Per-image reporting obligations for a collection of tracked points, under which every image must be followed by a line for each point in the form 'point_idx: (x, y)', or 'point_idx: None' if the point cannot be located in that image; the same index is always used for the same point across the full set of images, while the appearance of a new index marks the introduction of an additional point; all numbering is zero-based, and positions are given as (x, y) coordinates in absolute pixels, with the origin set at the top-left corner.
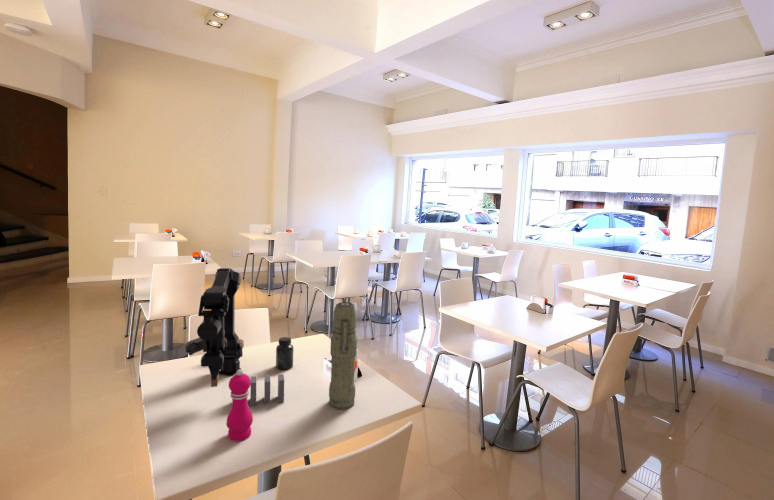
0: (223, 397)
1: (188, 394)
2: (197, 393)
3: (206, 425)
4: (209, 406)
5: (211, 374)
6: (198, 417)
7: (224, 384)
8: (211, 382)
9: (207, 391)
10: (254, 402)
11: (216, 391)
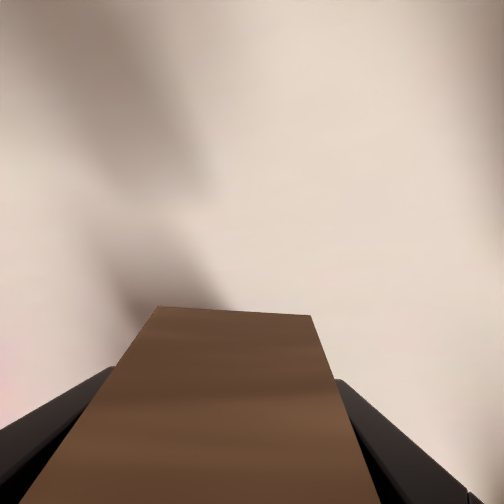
0: (329, 304)
1: (452, 96)
2: (442, 155)
3: (32, 230)
4: (241, 236)
5: (32, 421)
6: (124, 184)
7: (501, 307)
8: (140, 333)
9: (445, 215)
10: None
11: (423, 266)
